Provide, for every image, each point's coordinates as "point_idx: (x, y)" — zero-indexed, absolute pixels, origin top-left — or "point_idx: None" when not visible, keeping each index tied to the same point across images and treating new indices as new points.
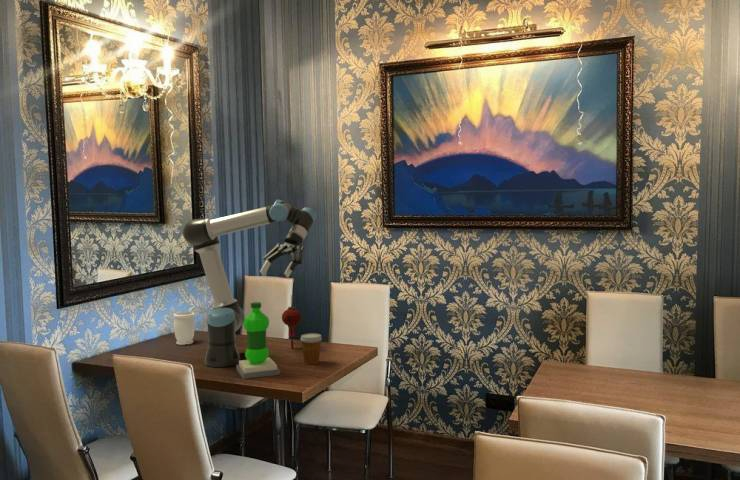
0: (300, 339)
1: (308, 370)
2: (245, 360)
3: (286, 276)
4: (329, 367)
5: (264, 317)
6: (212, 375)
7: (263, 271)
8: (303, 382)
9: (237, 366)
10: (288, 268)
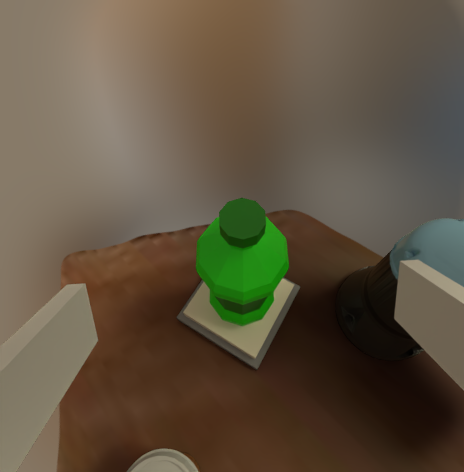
0: (189, 459)
1: (135, 395)
2: (281, 295)
3: (90, 325)
4: (96, 464)
5: (203, 254)
6: (300, 233)
7: (413, 300)
8: (91, 306)
9: (286, 279)
10: (25, 328)
